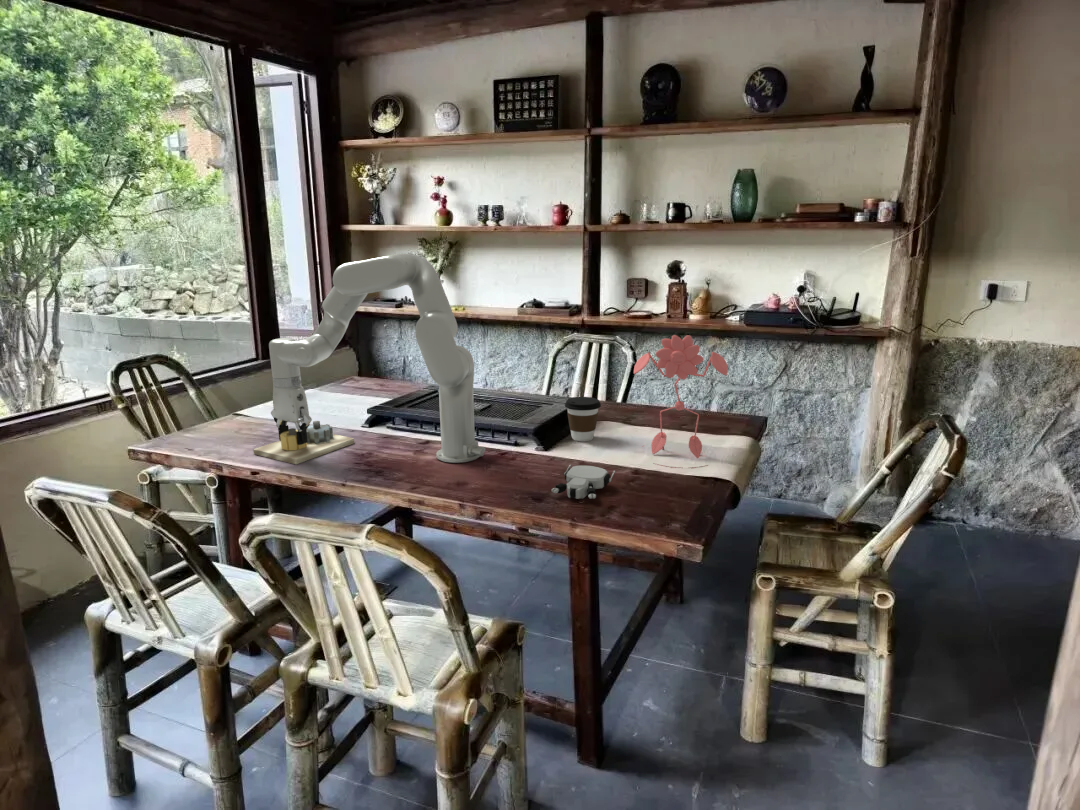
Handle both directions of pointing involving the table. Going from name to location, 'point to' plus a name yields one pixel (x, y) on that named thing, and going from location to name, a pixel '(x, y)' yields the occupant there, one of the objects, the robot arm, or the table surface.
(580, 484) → the robot toy
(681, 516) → the table surface
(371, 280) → the robot arm
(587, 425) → the coffee cup
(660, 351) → the dancing flower figure
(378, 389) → the table surface
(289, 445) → the ochre gear
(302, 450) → the gear board
